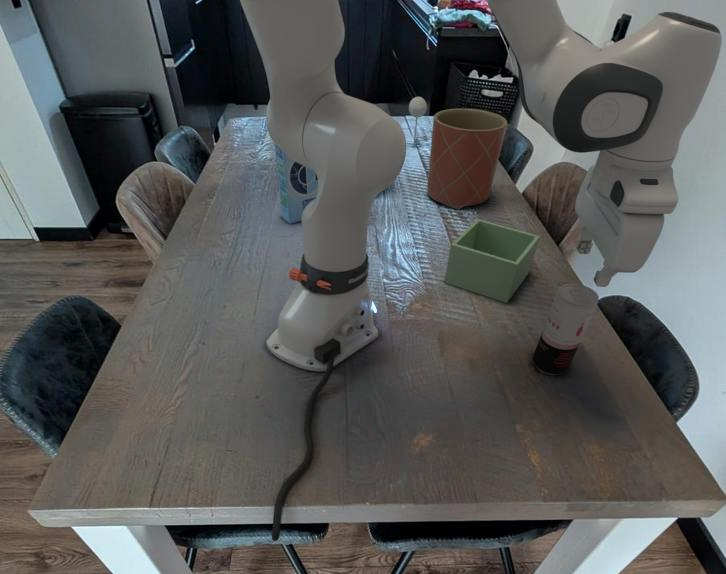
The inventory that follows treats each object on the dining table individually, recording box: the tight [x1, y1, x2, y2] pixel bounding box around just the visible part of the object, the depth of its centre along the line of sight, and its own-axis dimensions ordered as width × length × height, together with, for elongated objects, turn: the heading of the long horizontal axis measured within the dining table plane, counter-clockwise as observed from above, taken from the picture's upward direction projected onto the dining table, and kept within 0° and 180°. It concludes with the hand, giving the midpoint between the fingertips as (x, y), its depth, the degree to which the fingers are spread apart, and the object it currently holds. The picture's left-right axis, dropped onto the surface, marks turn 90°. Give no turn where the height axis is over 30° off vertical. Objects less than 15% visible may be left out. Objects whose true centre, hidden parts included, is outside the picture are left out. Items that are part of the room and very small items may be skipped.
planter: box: [426, 108, 508, 210], centre depth 131 cm, size 19×19×20 cm
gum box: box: [274, 143, 318, 225], centre depth 120 cm, size 20×5×23 cm, turn 123°
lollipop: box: [408, 96, 428, 148], centre depth 161 cm, size 6×6×15 cm
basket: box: [444, 218, 541, 304], centre depth 104 cm, size 15×15×9 cm
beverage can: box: [531, 283, 600, 376], centre depth 82 cm, size 7×6×15 cm
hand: (590, 267), depth 73 cm, fingers open, 8 cm apart
